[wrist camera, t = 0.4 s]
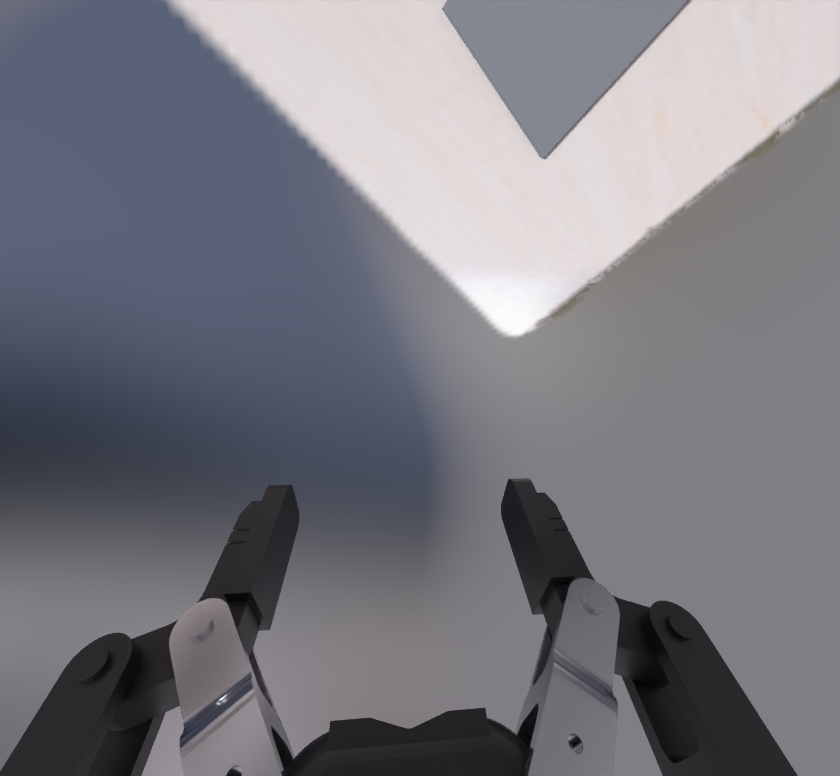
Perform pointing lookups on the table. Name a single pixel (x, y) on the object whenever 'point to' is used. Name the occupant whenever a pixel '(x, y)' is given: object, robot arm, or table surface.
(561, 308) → the table surface
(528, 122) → the mat
